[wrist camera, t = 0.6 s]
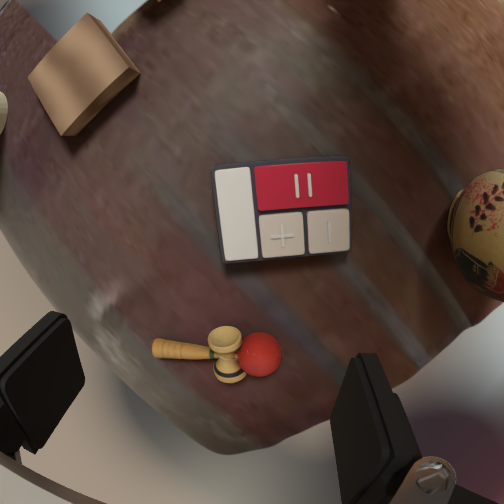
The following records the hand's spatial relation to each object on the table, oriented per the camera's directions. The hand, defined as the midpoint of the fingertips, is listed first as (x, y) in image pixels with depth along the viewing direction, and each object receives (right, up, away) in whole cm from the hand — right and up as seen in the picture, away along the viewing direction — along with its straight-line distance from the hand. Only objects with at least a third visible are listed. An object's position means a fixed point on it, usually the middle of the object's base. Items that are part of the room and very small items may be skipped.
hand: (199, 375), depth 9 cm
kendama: (-3, -9, +34) cm, 35 cm away
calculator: (+5, +9, +27) cm, 30 cm away
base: (-20, +27, +23) cm, 41 cm away
